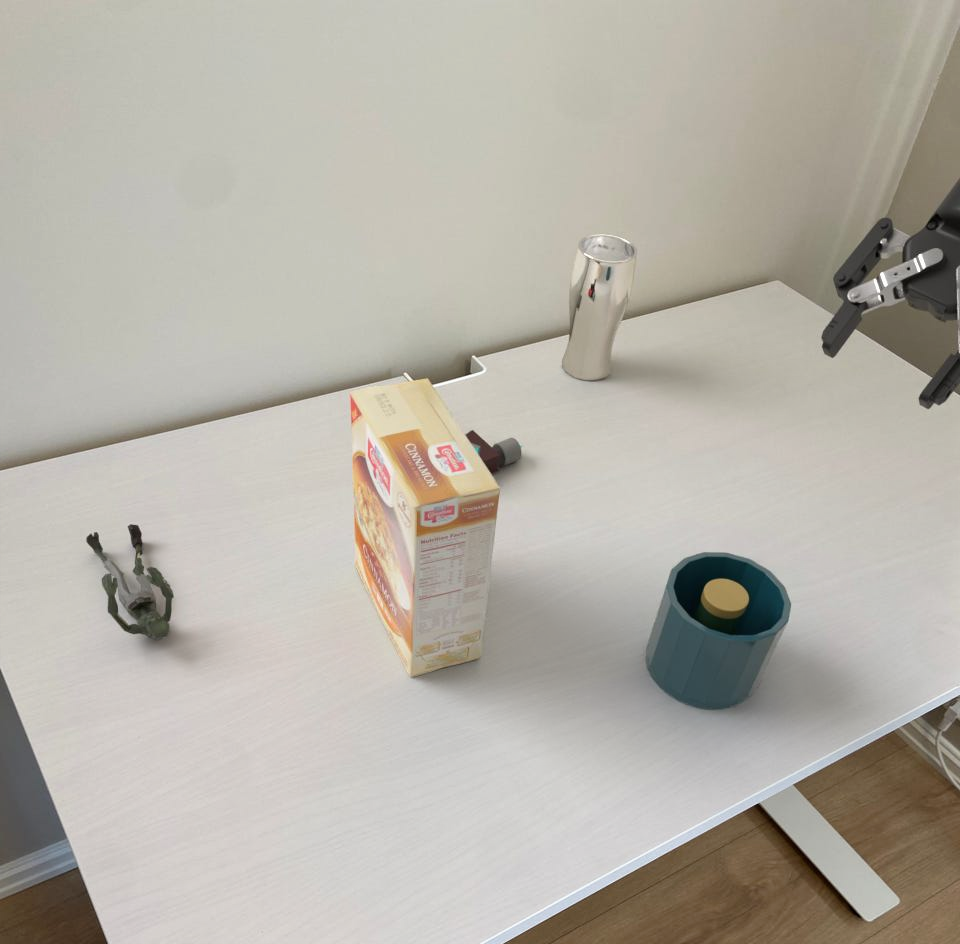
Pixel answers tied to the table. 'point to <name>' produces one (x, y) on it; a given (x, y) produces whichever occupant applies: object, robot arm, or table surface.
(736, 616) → the tea tin
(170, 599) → the zombie figurine
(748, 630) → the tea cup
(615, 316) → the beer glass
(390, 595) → the coffeecake box
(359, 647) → the table surface
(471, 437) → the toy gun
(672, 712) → the table surface
